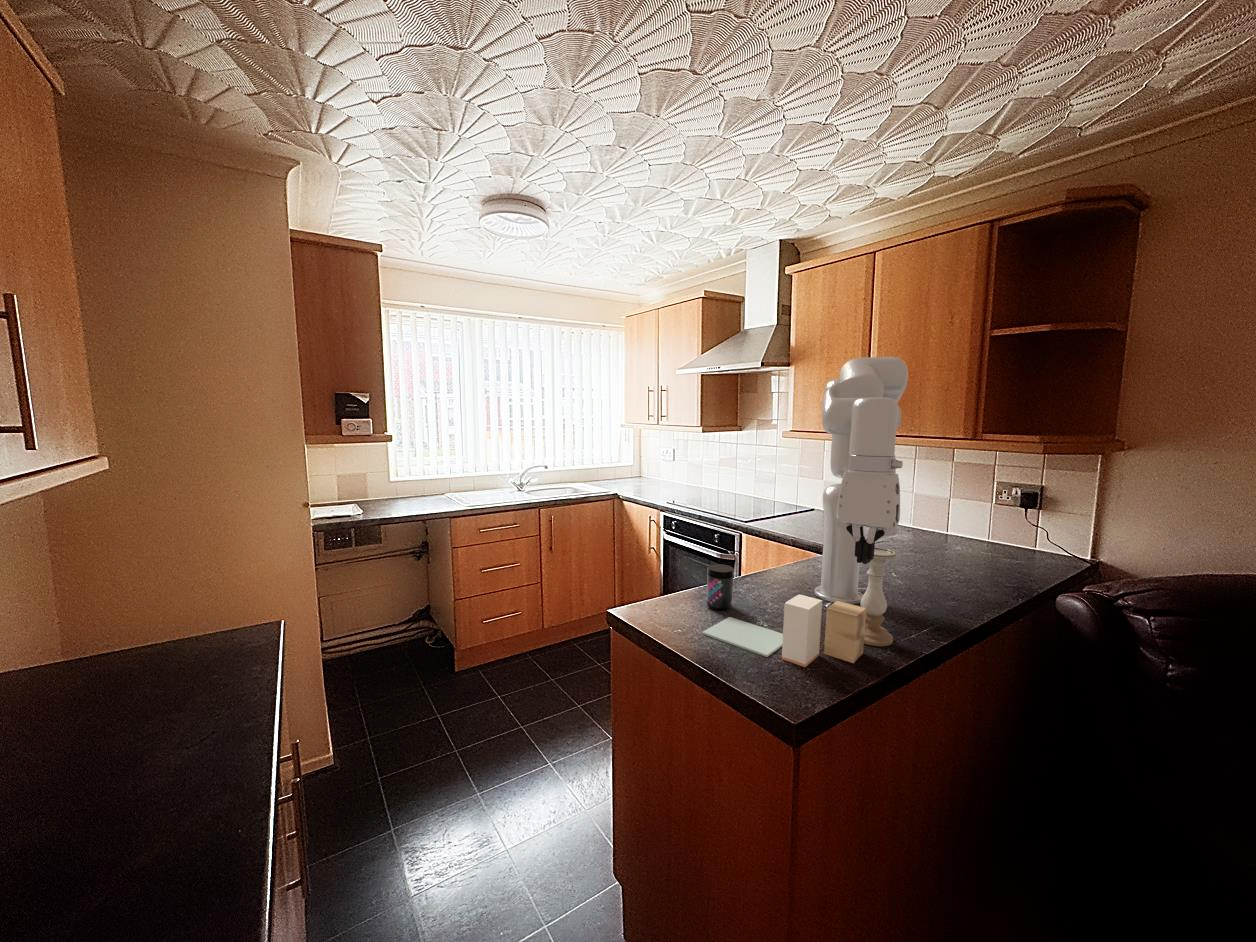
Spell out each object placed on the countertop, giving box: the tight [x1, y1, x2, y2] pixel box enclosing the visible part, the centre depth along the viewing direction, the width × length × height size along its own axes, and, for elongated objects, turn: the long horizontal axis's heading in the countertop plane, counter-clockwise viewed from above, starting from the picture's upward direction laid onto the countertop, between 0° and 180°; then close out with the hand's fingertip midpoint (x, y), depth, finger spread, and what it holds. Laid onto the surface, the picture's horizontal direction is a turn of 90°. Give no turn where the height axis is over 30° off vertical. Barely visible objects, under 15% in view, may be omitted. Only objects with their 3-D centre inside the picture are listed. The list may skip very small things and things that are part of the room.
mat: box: [701, 616, 783, 658], centre depth 114 cm, size 12×16×1 cm
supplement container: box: [706, 563, 735, 612], centre depth 131 cm, size 7×7×10 cm
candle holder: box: [859, 546, 897, 647], centre depth 113 cm, size 9×9×20 cm
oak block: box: [823, 601, 866, 664], centre depth 106 cm, size 6×6×10 cm
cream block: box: [781, 594, 823, 668], centre depth 104 cm, size 7×5×12 cm
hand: (863, 561), depth 95 cm, fingers closed
